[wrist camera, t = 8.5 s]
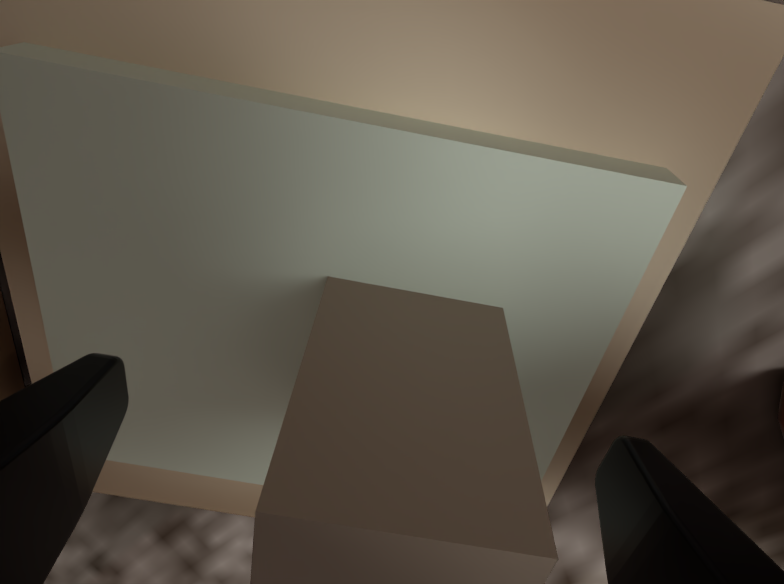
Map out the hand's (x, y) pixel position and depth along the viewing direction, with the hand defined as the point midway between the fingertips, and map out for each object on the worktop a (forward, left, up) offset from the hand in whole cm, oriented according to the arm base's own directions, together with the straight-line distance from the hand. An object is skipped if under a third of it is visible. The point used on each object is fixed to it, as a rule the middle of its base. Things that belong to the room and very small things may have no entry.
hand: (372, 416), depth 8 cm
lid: (0, +1, -3) cm, 3 cm away
